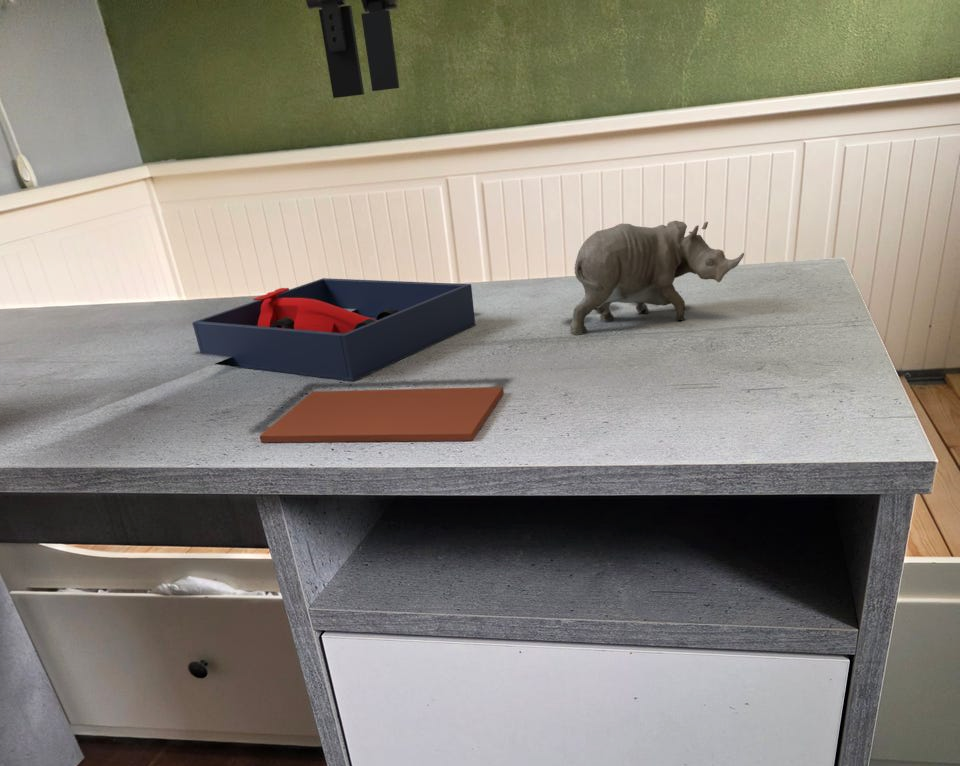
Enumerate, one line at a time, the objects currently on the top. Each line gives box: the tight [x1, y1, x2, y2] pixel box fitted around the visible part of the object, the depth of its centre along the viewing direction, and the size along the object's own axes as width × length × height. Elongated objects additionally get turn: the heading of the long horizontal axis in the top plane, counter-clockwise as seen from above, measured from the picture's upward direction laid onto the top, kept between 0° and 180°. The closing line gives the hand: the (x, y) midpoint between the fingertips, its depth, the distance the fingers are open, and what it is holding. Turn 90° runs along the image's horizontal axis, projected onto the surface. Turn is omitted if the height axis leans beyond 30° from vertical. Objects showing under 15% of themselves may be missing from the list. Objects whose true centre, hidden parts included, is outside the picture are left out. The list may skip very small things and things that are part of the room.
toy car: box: [252, 287, 399, 334], centre depth 94 cm, size 6×18×5 cm, turn 63°
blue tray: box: [191, 277, 476, 382], centre depth 95 cm, size 22×20×4 cm
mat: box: [259, 386, 505, 443], centre depth 74 cm, size 18×11×1 cm, turn 76°
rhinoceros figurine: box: [569, 220, 745, 336], centre depth 89 cm, size 8×14×15 cm
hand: (368, 93), depth 84 cm, fingers open, 13 cm apart
